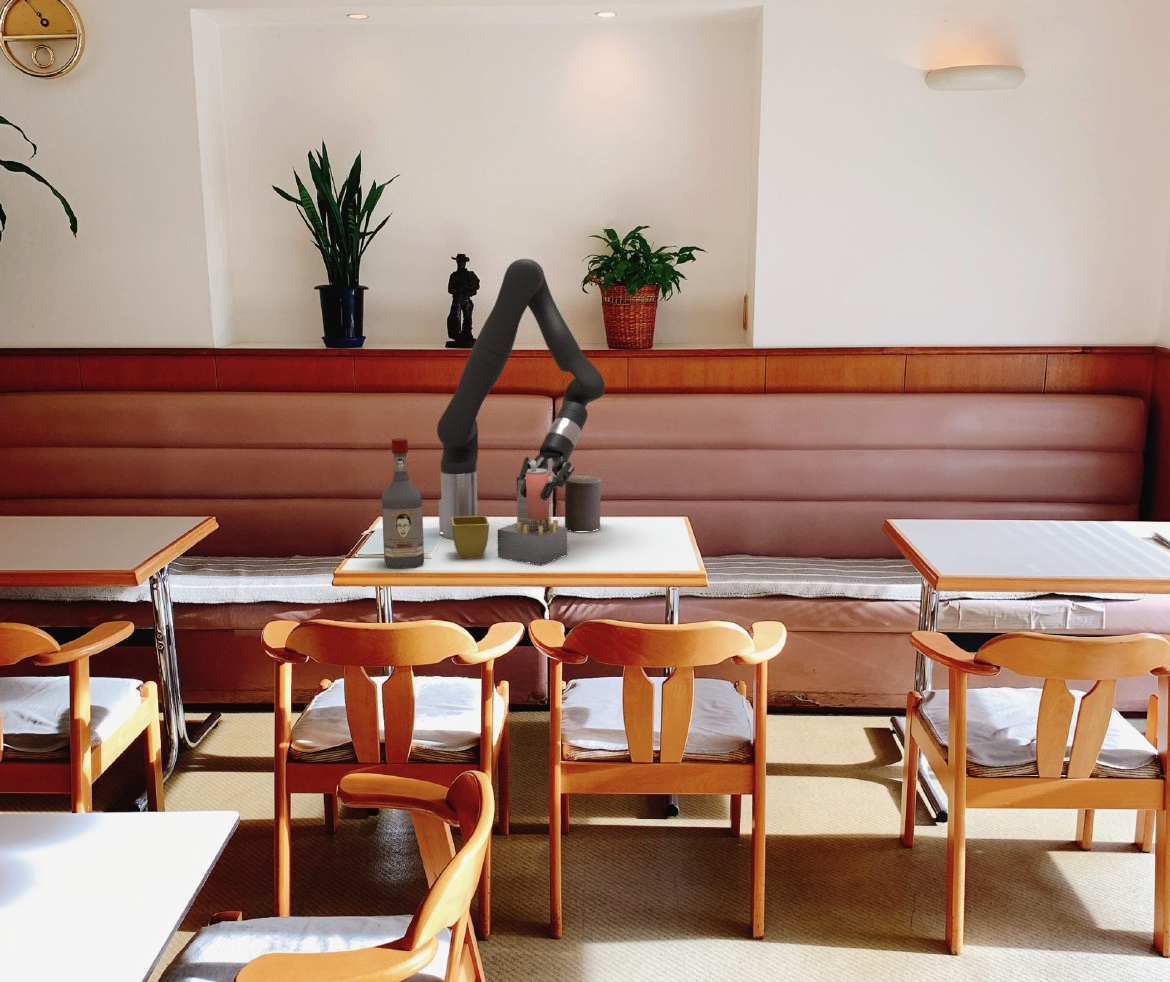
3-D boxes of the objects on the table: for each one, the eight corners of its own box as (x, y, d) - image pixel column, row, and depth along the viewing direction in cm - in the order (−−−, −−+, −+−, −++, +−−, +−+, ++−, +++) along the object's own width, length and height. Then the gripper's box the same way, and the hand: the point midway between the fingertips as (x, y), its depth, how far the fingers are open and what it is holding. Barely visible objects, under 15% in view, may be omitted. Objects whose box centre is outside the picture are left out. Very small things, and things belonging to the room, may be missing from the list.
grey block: (488, 555, 256) (487, 519, 254) (515, 545, 265) (514, 511, 263) (541, 565, 248) (541, 528, 246) (567, 555, 257) (567, 519, 255)
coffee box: (525, 528, 282) (525, 470, 279) (548, 530, 281) (548, 471, 278) (516, 537, 274) (516, 477, 270) (540, 538, 272) (540, 478, 269)
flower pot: (487, 550, 261) (486, 515, 259) (490, 559, 253) (489, 523, 251) (451, 552, 260) (450, 516, 258) (453, 561, 251) (452, 525, 249)
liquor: (383, 559, 253) (378, 437, 246) (421, 557, 255) (417, 435, 248) (385, 569, 244) (380, 443, 238) (424, 567, 246) (420, 441, 240)
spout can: (522, 518, 252) (521, 461, 249) (535, 513, 256) (534, 457, 253) (540, 520, 249) (539, 463, 246) (553, 516, 254) (552, 459, 251)
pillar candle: (562, 532, 279) (562, 477, 275) (567, 523, 288) (567, 470, 285) (598, 533, 278) (599, 478, 274) (602, 524, 287) (603, 471, 284)
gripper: (530, 429, 258) (502, 485, 251) (578, 433, 251) (551, 491, 243) (543, 447, 264) (516, 502, 257) (591, 452, 256) (564, 509, 249)
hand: (533, 496), depth 250 cm, fingers closed on spout can, 5 cm apart
